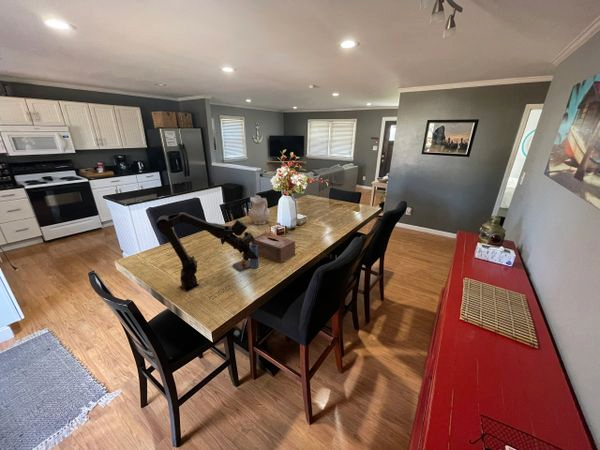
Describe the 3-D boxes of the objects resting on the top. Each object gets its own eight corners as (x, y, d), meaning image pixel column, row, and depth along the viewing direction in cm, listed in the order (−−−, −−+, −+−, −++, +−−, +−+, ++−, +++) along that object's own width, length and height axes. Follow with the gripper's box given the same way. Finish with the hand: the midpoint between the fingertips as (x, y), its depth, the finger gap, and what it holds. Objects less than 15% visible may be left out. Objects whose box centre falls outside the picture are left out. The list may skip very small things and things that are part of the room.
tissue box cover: (252, 251, 163) (251, 238, 159) (266, 244, 174) (266, 232, 170) (281, 262, 148) (280, 248, 145) (295, 254, 159) (295, 240, 156)
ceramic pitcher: (276, 223, 221) (276, 196, 214) (262, 227, 205) (262, 199, 198) (258, 219, 232) (258, 193, 225) (244, 223, 216) (243, 196, 209)
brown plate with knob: (240, 271, 138) (239, 265, 137) (232, 265, 145) (232, 259, 143) (255, 265, 145) (254, 259, 143) (247, 260, 151) (246, 254, 149)
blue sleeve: (254, 270, 133) (253, 249, 129) (248, 267, 136) (247, 247, 131) (260, 266, 137) (259, 246, 132) (254, 264, 139) (253, 244, 135)
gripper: (248, 236, 119) (270, 252, 127) (241, 224, 135) (261, 239, 143) (234, 253, 118) (256, 268, 126) (228, 239, 134) (249, 253, 142)
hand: (256, 256), depth 134 cm, fingers closed on blue sleeve, 5 cm apart
